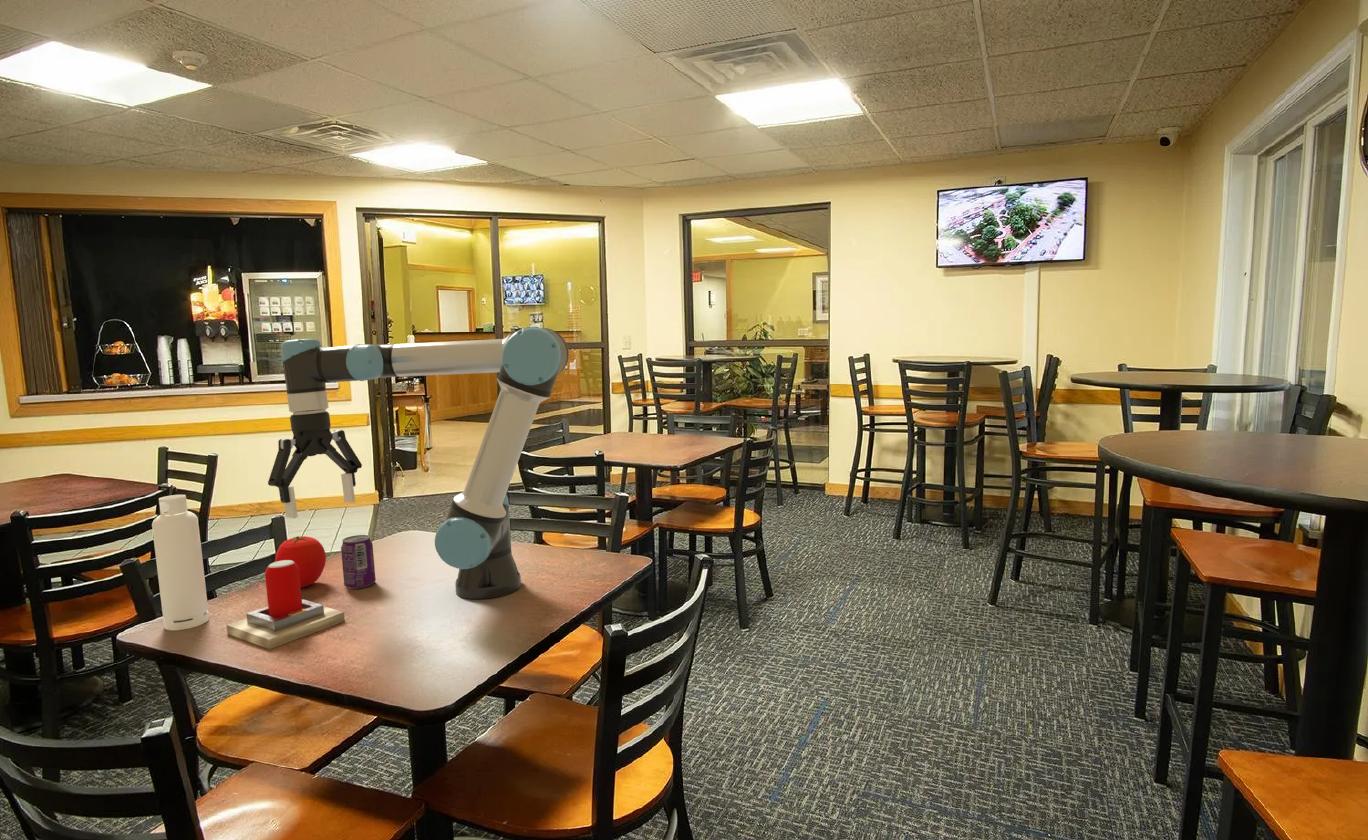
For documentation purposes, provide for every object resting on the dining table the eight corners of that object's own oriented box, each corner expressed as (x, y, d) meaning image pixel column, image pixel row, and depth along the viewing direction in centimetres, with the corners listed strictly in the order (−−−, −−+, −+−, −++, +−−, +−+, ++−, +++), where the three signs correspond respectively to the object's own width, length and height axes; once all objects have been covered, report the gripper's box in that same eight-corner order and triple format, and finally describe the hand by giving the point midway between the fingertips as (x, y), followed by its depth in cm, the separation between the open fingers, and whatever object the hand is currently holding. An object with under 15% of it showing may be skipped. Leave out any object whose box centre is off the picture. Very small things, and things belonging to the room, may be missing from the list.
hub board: (344, 620, 156) (343, 612, 156) (269, 649, 143) (268, 639, 142) (302, 608, 165) (301, 599, 164) (227, 634, 151) (226, 624, 151)
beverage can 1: (302, 620, 152) (296, 564, 150) (268, 626, 149) (262, 569, 148) (304, 610, 157) (299, 557, 156) (271, 616, 155) (266, 561, 154)
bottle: (217, 617, 161) (204, 493, 157) (182, 632, 153) (166, 502, 150) (191, 614, 163) (177, 492, 160) (155, 628, 156) (139, 500, 152)
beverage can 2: (381, 580, 182) (377, 534, 181) (366, 590, 175) (362, 542, 174) (354, 580, 183) (350, 534, 182) (338, 590, 176) (334, 542, 175)
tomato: (294, 579, 186) (289, 530, 184) (335, 578, 185) (331, 529, 184) (267, 594, 175) (262, 543, 173) (311, 593, 174) (306, 541, 173)
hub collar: (324, 614, 155) (323, 603, 155) (275, 631, 146) (273, 620, 146) (296, 606, 161) (295, 596, 160) (247, 622, 152) (246, 612, 151)
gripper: (349, 405, 167) (361, 495, 170) (239, 420, 146) (254, 523, 148) (371, 405, 164) (382, 497, 166) (261, 419, 142) (276, 525, 145)
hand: (322, 509), depth 157 cm, fingers open, 13 cm apart
